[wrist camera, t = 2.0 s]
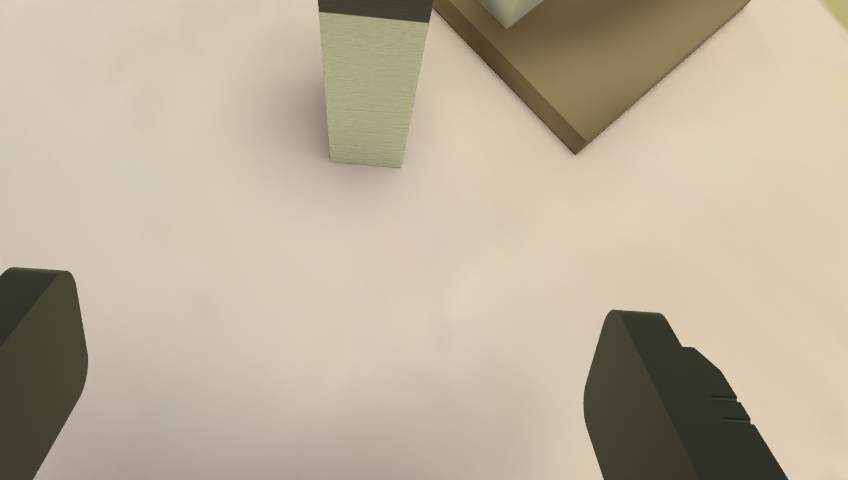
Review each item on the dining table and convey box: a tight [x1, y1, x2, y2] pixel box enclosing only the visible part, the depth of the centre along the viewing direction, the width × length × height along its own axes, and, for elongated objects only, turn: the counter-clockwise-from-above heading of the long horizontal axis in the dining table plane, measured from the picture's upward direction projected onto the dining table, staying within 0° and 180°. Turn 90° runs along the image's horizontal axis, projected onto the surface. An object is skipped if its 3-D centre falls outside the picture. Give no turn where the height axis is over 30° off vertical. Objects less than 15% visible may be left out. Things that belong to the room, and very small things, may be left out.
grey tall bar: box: [318, 0, 433, 168], centre depth 23 cm, size 3×4×14 cm
